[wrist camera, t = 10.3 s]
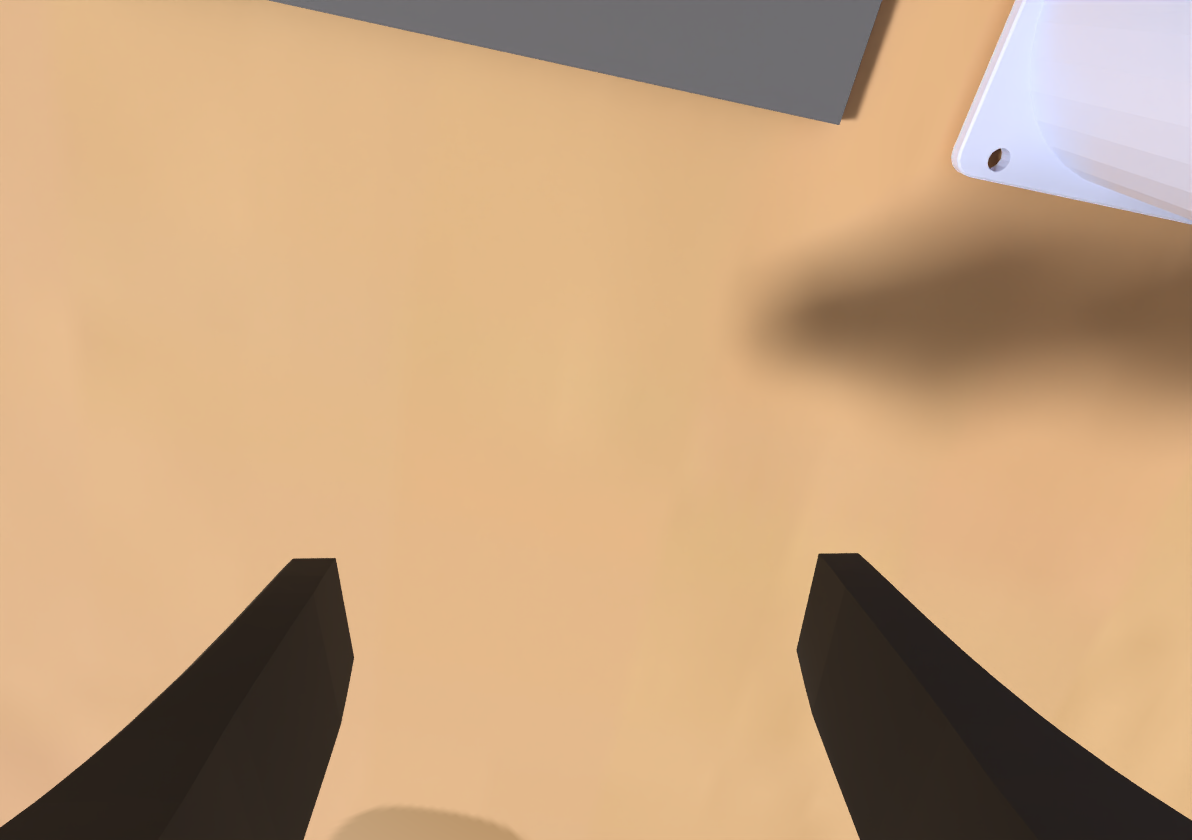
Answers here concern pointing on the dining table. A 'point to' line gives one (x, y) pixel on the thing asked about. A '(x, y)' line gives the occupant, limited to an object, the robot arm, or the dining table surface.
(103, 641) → the dining table surface
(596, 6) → the mat
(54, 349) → the dining table surface
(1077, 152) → the robot arm
